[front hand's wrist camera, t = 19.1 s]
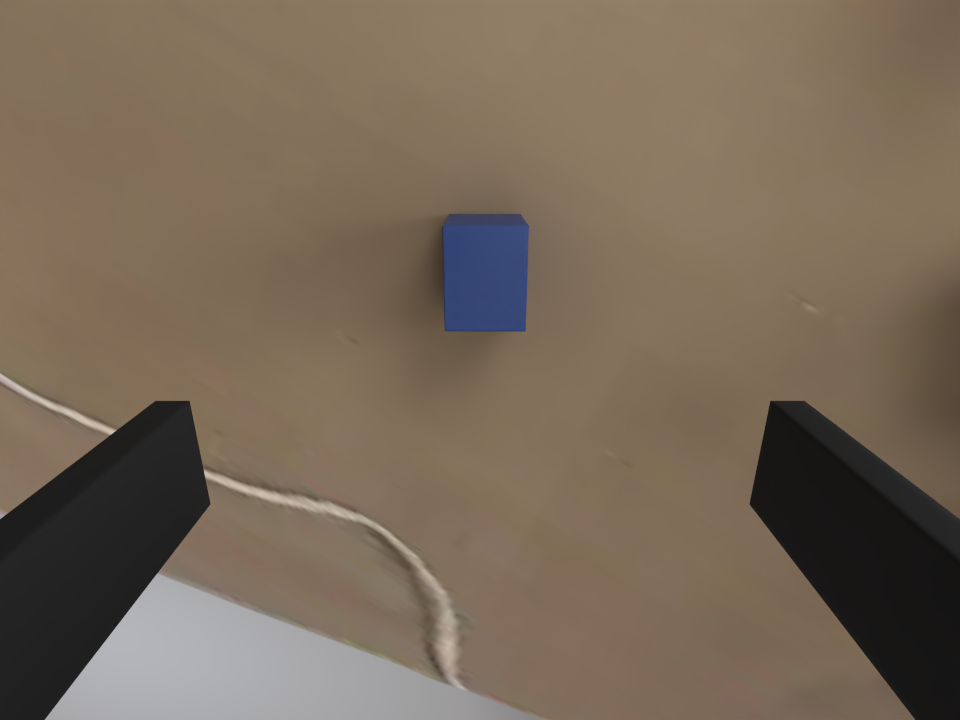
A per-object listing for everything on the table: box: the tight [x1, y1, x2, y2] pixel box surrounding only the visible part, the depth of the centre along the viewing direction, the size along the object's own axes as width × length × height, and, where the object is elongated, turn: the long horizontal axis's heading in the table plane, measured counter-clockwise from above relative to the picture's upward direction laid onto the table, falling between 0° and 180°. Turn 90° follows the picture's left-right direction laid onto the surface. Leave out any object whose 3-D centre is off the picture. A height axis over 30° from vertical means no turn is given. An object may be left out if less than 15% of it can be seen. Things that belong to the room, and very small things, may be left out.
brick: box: [443, 214, 529, 331], centre depth 36 cm, size 5×6×7 cm
